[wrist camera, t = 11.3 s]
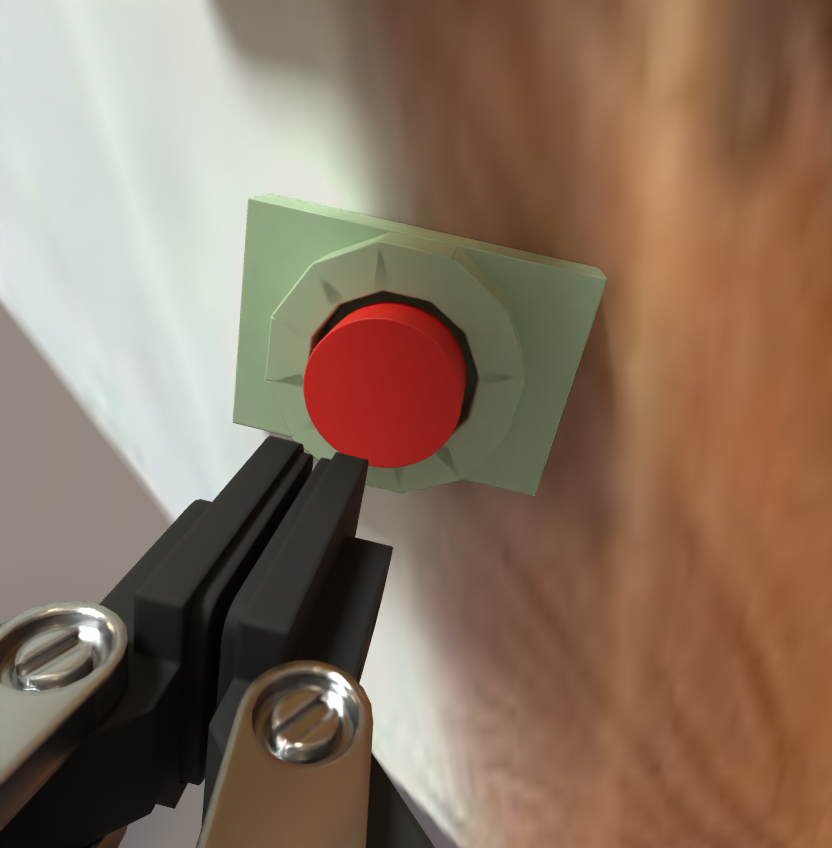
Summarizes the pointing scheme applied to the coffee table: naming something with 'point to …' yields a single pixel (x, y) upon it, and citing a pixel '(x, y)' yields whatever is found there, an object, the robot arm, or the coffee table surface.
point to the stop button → (386, 384)
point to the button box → (437, 294)
